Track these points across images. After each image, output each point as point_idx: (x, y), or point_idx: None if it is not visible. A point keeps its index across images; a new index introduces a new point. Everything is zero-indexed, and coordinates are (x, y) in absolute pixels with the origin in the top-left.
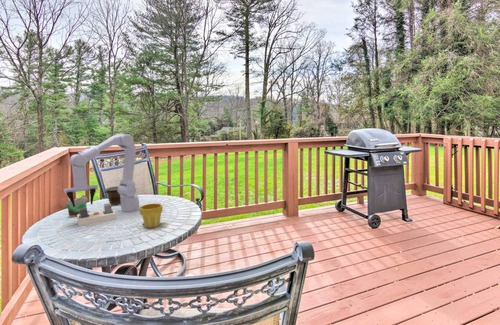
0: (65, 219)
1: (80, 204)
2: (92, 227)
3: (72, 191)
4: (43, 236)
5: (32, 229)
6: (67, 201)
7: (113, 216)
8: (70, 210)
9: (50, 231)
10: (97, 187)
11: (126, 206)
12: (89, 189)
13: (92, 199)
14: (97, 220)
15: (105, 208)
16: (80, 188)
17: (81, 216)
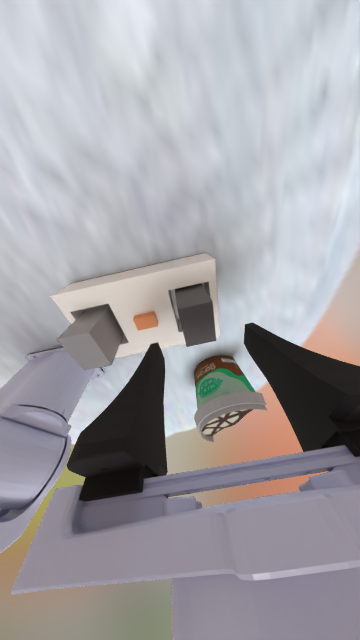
0: (243, 352)
1: (214, 394)
2: (151, 235)
3: (352, 459)
4: (330, 197)
5: (330, 301)
6: (261, 406)
7: (68, 289)
8: (239, 374)
9: (295, 256)
10: (38, 533)
11: (51, 369)
12: (151, 489)
13: (140, 365)
14: (134, 272)
15: (92, 325)
16: (310, 563)
17: (201, 288)
